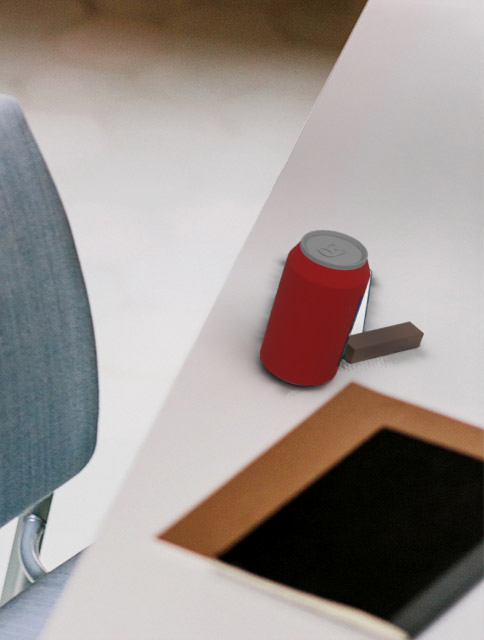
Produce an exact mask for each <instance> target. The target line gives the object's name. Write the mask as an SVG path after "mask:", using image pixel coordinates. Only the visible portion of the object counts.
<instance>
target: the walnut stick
mask: <svg viewBox="0 0 484 640" xmlns="http://www.w3.org/2000/svg"><path fill="white" fill-rule="evenodd" d="M424 335H425V333H424V332H423V331H422V330H421V329H420V328H419V327H417V326H416V325H415V324H414V323H413V322H412V321H406V322H401V323H397V324H392V325H388V326H384V327H379V328H375V329H372V330H367V331H364V332H362V333H358V334H354V335H350V338H349V341H348V343H347V346H346V349H345V352H344V354H345V355H346V356H345V359H346V360H345V359H344V360H345V361H346V362H347V363H349V364H354V363H359V362H363V361H366V360H371V359H375V358H379V357H383V356H386V355H392V354H394V353H395V354H396V353H399V352H403V351H407V350H411V349H415V348H419V347H420V346H421V343H422V340H423V338H424Z"/></svg>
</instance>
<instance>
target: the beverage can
mask: <svg viewBox="0 0 484 640" xmlns="http://www.w3.org/2000/svg"><path fill="white" fill-rule="evenodd" d="M368 257H369V252H368V249H367V247H366V246H365V245H364V244H363V243H362V242H361V241H359V240H358V239H357V238H355V237H353V236H351V235H348V234H346V233H343V232H339V231H334V230H330V229H317V230H311V231H309V232H306V233H305V234H304V235H303V236H302V237H301V239H300V240H299V242H298V243H296V245H294V247H291V250H290V251H288V253H287V257H286V260H285V263H284V266H283V270H282V273H281V275H280V276H281V277H280V279H279V283H278V286H277V288H276V289H277V290H276V293H275V297H274V300H273V303H272V307H271V310H270V314H269V317H268V321H267V324H266V328H265V332H264V335H263V339H262V343H261V346H260V350H259V358H260V361H261V363H262V364H263V366H264V367H265V368H266V370H268V371H269V372H270V373H271V374H273V375H274V376H275V377H276V378H278V379H279V380H281V381H283V382H286V383H288V384H291V385H295V386H304V387H307V386H309V387H310V386H318V385H319V386H320V385H323V384H326V383H329V382H330V381H332V380H333V379H334V378H335V377H336V375H337V374H338V371H339V368H340V365H341V363H342V360H343V359H342V357H343V355H344V352H345V349H346V346H347V343H348V341H349V338H350V335H351V332H352V329H353V326H354V324H355V321H356V318H357V315H358V312H359V309H360V306H361V303H362V300H363V297H364V294H365V291H366V288H367V285H368V282H369V279H370V275H371V274H370V269H371V268H370V263H369V259H368Z"/></svg>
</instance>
